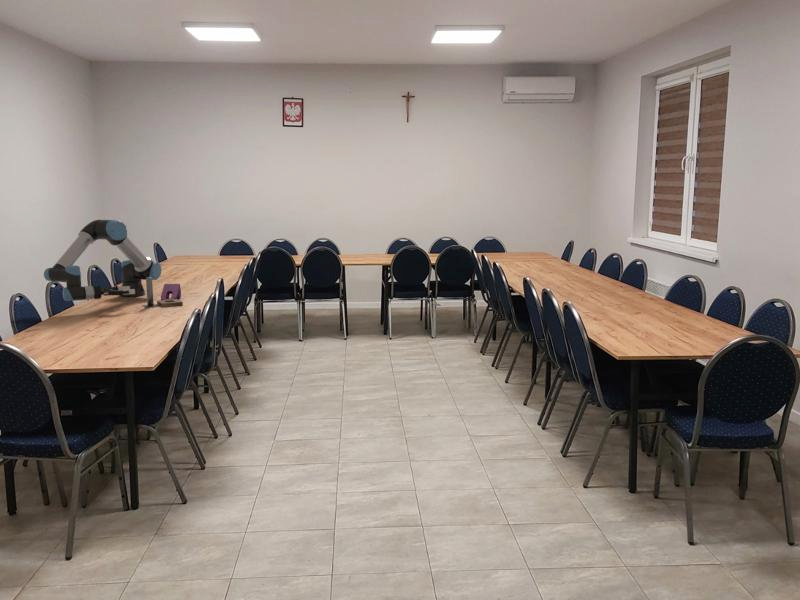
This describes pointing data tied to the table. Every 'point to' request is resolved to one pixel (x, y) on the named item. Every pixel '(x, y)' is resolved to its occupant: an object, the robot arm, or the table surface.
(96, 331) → the table surface
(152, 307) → the mat
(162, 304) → the collar
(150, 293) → the peg
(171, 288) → the mounting bracket
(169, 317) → the table surface
